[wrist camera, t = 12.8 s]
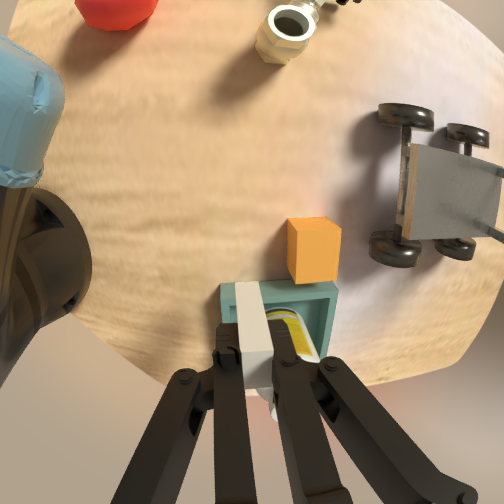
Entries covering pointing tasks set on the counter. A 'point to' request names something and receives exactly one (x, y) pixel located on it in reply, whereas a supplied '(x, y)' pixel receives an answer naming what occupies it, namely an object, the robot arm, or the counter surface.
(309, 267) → the block
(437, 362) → the counter surface
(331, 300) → the tray
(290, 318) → the pill bottle
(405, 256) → the trolley
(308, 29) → the valve
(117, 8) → the apple
